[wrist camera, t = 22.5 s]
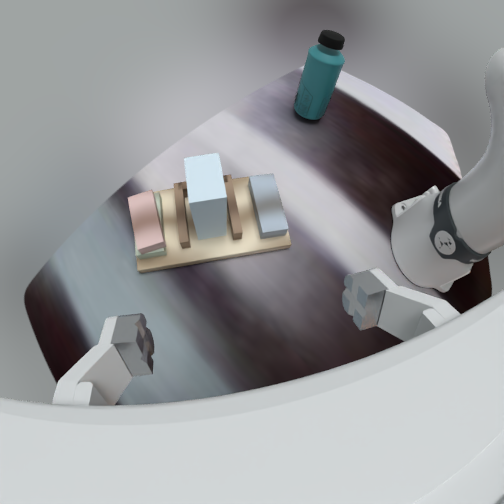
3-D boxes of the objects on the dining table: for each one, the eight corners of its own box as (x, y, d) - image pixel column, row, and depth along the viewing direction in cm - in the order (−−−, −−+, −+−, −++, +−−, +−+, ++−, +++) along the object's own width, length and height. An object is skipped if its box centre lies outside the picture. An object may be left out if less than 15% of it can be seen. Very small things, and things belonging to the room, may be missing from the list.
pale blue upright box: (193, 202, 40) (184, 158, 30) (219, 198, 41) (218, 152, 30) (198, 240, 38) (188, 203, 28) (226, 235, 39) (226, 197, 29)
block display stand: (136, 200, 41) (126, 182, 36) (270, 179, 44) (276, 159, 39) (140, 273, 38) (128, 262, 32) (289, 247, 41) (298, 234, 36)
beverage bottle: (327, 125, 50) (361, 46, 31) (297, 126, 49) (324, 41, 30) (315, 103, 52) (342, 28, 33) (286, 104, 50) (307, 23, 32)
